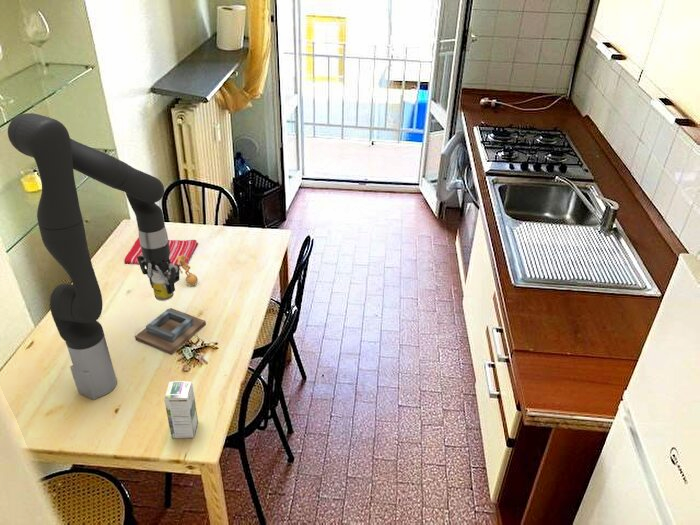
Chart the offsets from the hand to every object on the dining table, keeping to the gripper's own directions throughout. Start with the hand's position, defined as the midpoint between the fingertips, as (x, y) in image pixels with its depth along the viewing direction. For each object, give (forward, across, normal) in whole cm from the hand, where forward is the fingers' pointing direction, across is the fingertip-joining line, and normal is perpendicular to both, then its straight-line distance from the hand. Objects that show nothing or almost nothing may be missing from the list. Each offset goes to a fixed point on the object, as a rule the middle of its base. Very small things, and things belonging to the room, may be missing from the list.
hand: (163, 289), depth 167 cm
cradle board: (+16, 0, 0) cm, 16 cm away
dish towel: (+17, -34, +34) cm, 51 cm away
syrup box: (+17, +29, -28) cm, 44 cm away
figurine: (+17, -12, +23) cm, 31 cm away
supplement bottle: (+3, 0, 0) cm, 3 cm away
